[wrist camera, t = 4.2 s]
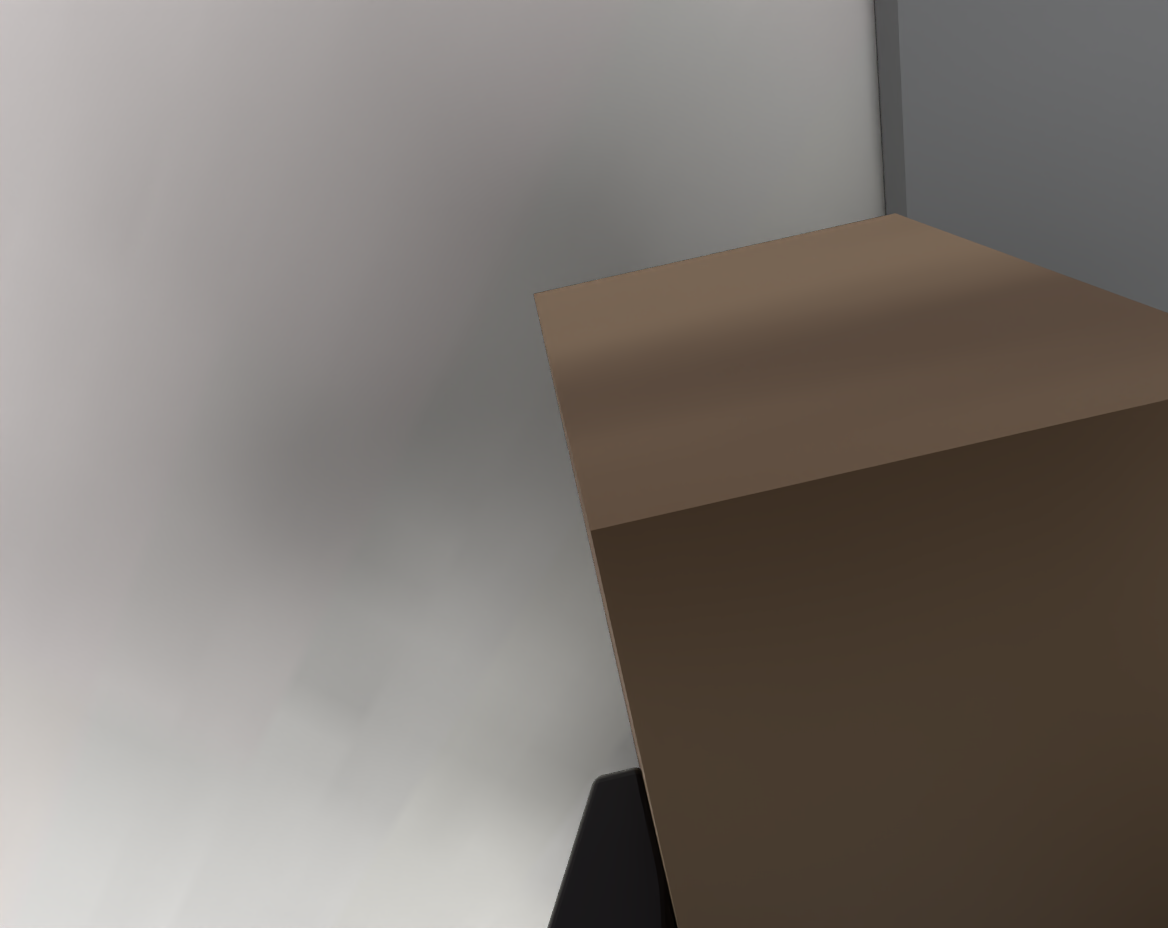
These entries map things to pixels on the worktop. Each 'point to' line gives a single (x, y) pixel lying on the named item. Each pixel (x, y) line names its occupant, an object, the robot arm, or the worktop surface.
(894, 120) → the tool mat
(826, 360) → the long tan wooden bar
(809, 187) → the worktop surface
